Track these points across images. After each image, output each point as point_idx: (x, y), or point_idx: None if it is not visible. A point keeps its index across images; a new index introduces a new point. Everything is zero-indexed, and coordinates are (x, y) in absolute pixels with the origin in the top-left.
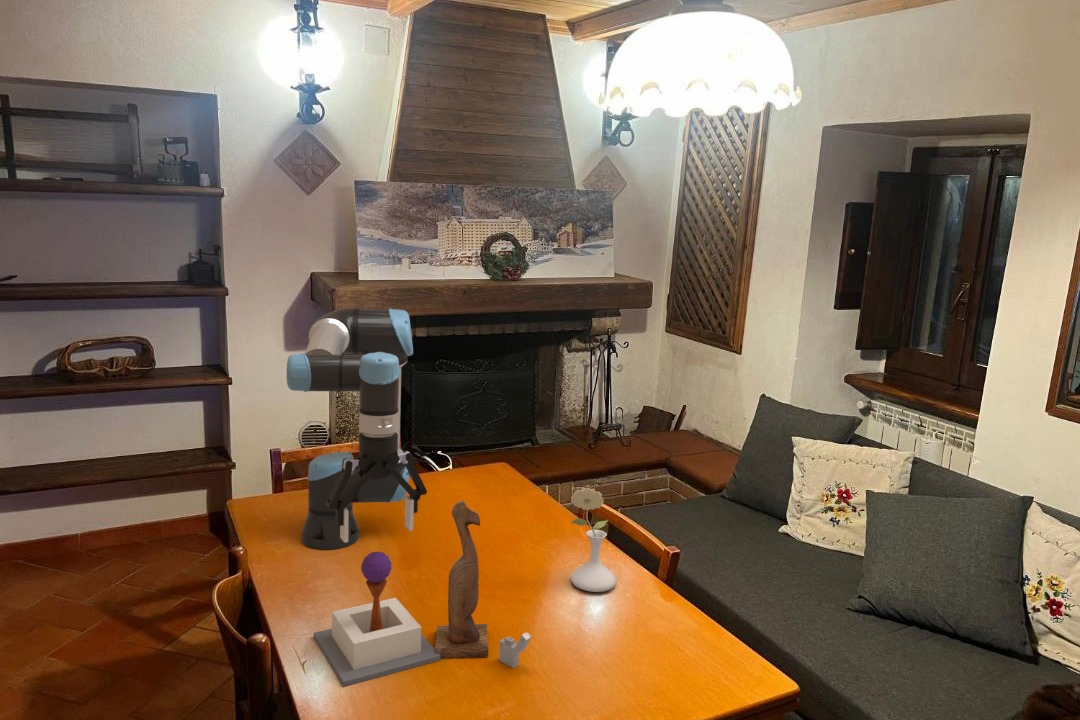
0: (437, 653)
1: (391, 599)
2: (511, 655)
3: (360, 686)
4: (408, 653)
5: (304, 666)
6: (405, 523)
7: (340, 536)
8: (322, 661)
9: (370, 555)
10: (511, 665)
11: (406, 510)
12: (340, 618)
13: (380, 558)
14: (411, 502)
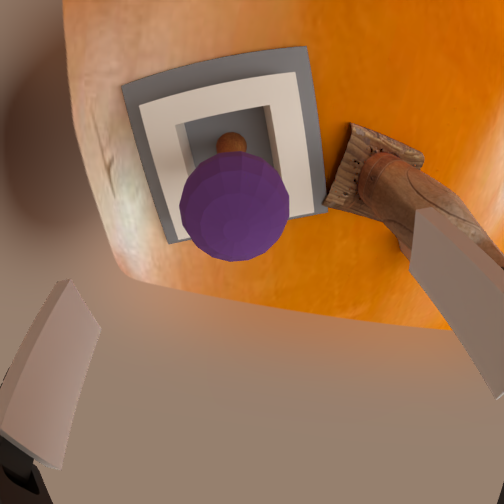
0: (325, 206)
1: (283, 77)
2: (408, 257)
3: (193, 244)
4: None
5: (111, 176)
6: (425, 229)
7: (56, 288)
8: (137, 166)
9: (209, 231)
10: (401, 250)
11: (472, 291)
12: (154, 138)
13: (246, 255)
14: (495, 387)
